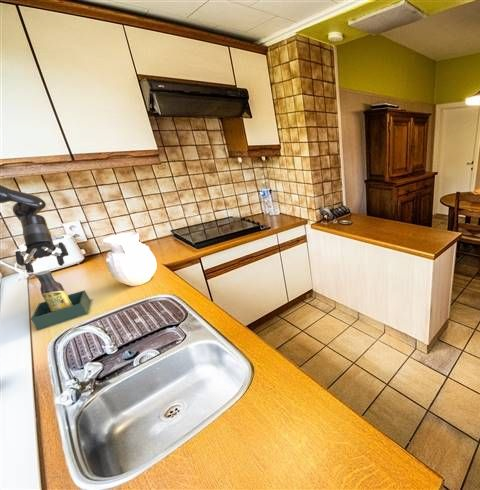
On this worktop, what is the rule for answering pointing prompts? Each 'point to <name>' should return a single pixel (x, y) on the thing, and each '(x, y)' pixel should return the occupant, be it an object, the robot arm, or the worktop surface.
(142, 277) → the pitcher
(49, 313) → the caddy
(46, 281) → the sauce bottle
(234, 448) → the worktop surface
